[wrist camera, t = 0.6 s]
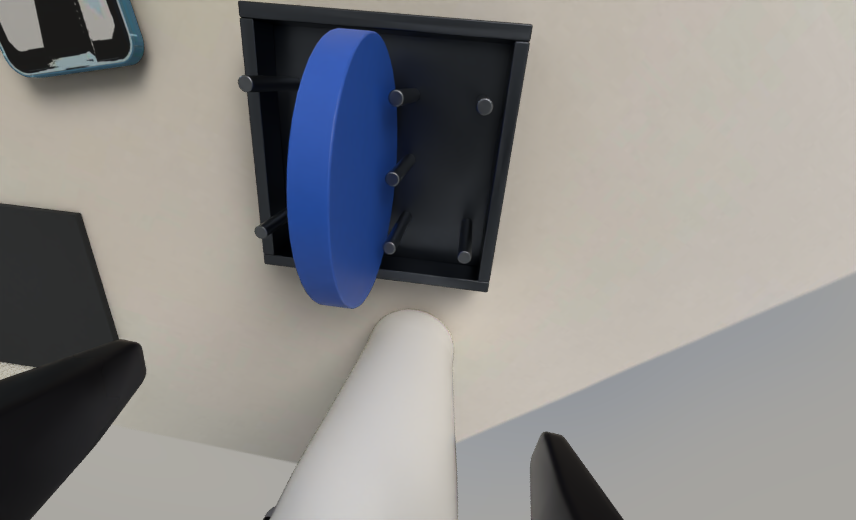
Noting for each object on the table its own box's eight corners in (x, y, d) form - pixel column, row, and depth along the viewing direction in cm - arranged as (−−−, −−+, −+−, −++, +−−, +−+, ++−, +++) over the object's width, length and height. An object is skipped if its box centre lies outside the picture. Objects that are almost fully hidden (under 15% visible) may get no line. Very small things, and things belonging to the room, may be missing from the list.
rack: (525, 31, 18) (544, 12, 13) (486, 270, 23) (489, 321, 18) (267, 10, 18) (194, -15, 14) (285, 245, 23) (236, 288, 19)
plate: (402, 45, 18) (324, 3, 9) (392, 249, 22) (332, 366, 13) (376, 43, 18) (271, -1, 9) (371, 246, 22) (296, 361, 13)
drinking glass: (483, 364, 25) (490, 690, 12) (392, 393, 27) (308, 703, 14) (436, 278, 23) (379, 557, 10) (342, 316, 25) (181, 594, 11)
